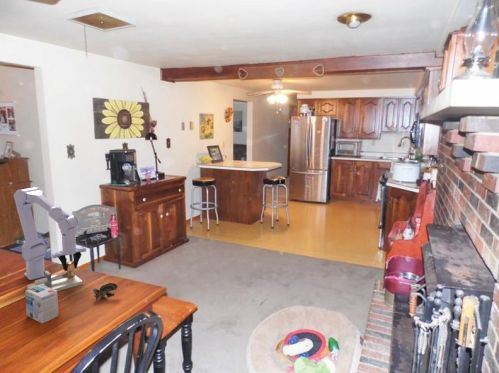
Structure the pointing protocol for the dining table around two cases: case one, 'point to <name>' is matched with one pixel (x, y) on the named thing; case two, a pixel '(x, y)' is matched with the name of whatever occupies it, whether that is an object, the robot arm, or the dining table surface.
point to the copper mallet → (69, 274)
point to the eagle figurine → (105, 290)
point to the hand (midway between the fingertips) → (70, 268)
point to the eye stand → (58, 282)
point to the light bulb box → (41, 303)
